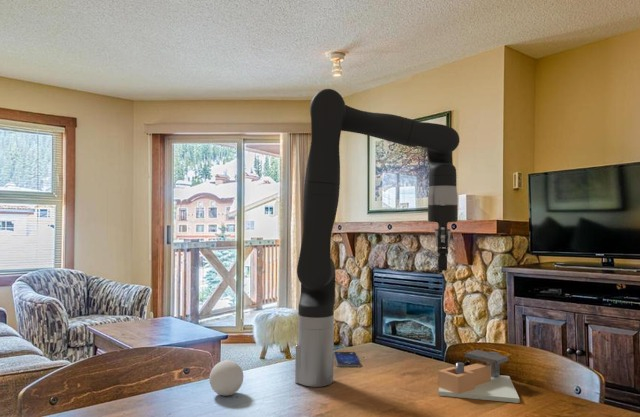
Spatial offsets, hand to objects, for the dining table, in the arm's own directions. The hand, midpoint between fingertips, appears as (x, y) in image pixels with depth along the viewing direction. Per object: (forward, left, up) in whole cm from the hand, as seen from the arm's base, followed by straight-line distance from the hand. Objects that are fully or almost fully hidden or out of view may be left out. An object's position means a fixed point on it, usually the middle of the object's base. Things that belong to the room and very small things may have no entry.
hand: (442, 270), depth 124 cm
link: (+6, -3, -28) cm, 29 cm away
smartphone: (-28, +14, -30) cm, 43 cm away
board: (+8, -1, -29) cm, 30 cm away
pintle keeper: (+10, 0, -29) cm, 31 cm away
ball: (-50, -23, -29) cm, 62 cm away
